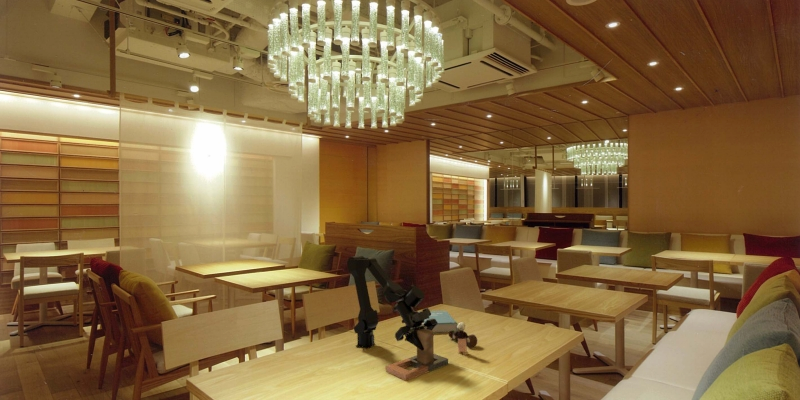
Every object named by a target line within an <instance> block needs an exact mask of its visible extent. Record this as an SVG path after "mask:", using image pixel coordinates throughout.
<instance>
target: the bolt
mask: <svg viewBox="0 0 800 400" xmlns="http://www.w3.org/2000/svg"><path fill="white" fill-rule="evenodd" d="M455 332H457V331H450V332H448V337H449V338H451V339H452V340H453V341H454V342H457V343H458V336H456V337H455V339H453V336H454V333H455ZM467 335H468V334H467ZM468 337H469V340H470V342H469V343H468V342H467V339H466V337H465V339H466V347H467V348H469V349H472V348H475V347H476V346H477V344H478V338H477V336H476V335H475V334H469V335H468Z"/></svg>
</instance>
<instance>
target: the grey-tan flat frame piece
mask: <svg viewBox="0 0 800 400" xmlns="http://www.w3.org/2000/svg"><path fill="white" fill-rule="evenodd" d="M447 365H449V358H447V357H445V356H442V355H439V354H437V353H434V362H431V363H428V364H426V365H425V364H423V363H420V362H418V361H417V355H414V356H411V357H407V358H405V359H403V360H400V361H397V362H393V363H391V364H388V365H385V372H386V373H388V374H389V375H392V376H395V377H396V378H399V379H401V380H404V381H409V380H411V379H414V378H416V377H419V376H422V375H424V374H427V373H430V372H431V371H435V370H436V369H439V368H441V367H444V366H447ZM409 366H411V367H413V369H409V370H408V369H406V368H408V367H409Z"/></svg>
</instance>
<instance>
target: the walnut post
mask: <svg viewBox="0 0 800 400" xmlns="http://www.w3.org/2000/svg"><path fill="white" fill-rule="evenodd" d="M417 336H418V338H419V340H420V342H421V343H422V345H423V348H424V350H423V351H422V350H420V349H419V348H417V347H416V356H417V361H418V362H420V363H423V364H425V365H426V364H428V363H431V362H434V354H435V353H434V333H433V331H432V330H429V329H421V330H418V331H417Z"/></svg>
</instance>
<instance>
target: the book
mask: <svg viewBox="0 0 800 400" xmlns="http://www.w3.org/2000/svg"><path fill="white" fill-rule="evenodd" d="M430 312H431V316H429V319H436V321H437V323H438V324H437V325H436V326H435V327H434V329H433V330H432V331H433V334H436V333H437V334H439V333H441V334H442V333H449V332H450V331H459V329H458V328H457V325H458V324H459V323H458V322H457V321H456V320H455V319H454V318H453V316H451V315H450V313H449V312H448V311H447V310H430ZM429 319H428V318H427V319H425V320H424V322H423V323H422V325H423V324H424V323H425V322H426V321H427V320H429Z"/></svg>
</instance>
